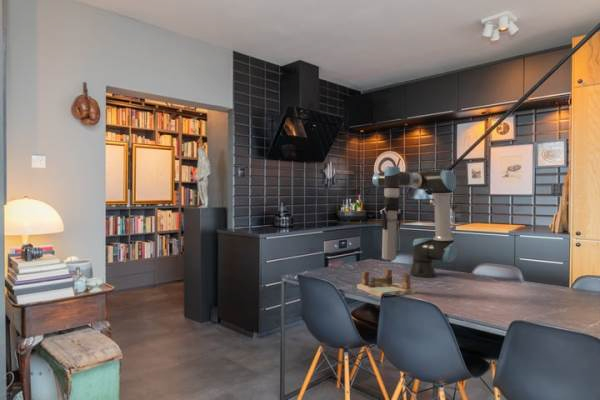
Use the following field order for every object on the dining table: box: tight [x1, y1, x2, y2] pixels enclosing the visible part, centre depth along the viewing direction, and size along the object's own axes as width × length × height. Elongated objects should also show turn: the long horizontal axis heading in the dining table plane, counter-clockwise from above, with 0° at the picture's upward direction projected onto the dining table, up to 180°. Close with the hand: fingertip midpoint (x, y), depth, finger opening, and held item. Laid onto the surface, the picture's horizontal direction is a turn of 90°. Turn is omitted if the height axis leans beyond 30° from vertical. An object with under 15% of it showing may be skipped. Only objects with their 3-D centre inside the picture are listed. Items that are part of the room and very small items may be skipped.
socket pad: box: [371, 286, 399, 293], centre depth 196 cm, size 10×10×1 cm
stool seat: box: [356, 268, 416, 298], centre depth 203 cm, size 21×21×9 cm
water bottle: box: [381, 211, 401, 261], centre depth 199 cm, size 9×8×25 cm
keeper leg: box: [369, 276, 393, 287], centre depth 204 cm, size 3×13×4 cm, turn 110°
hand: (390, 243), depth 199 cm, fingers open, 2 cm apart
